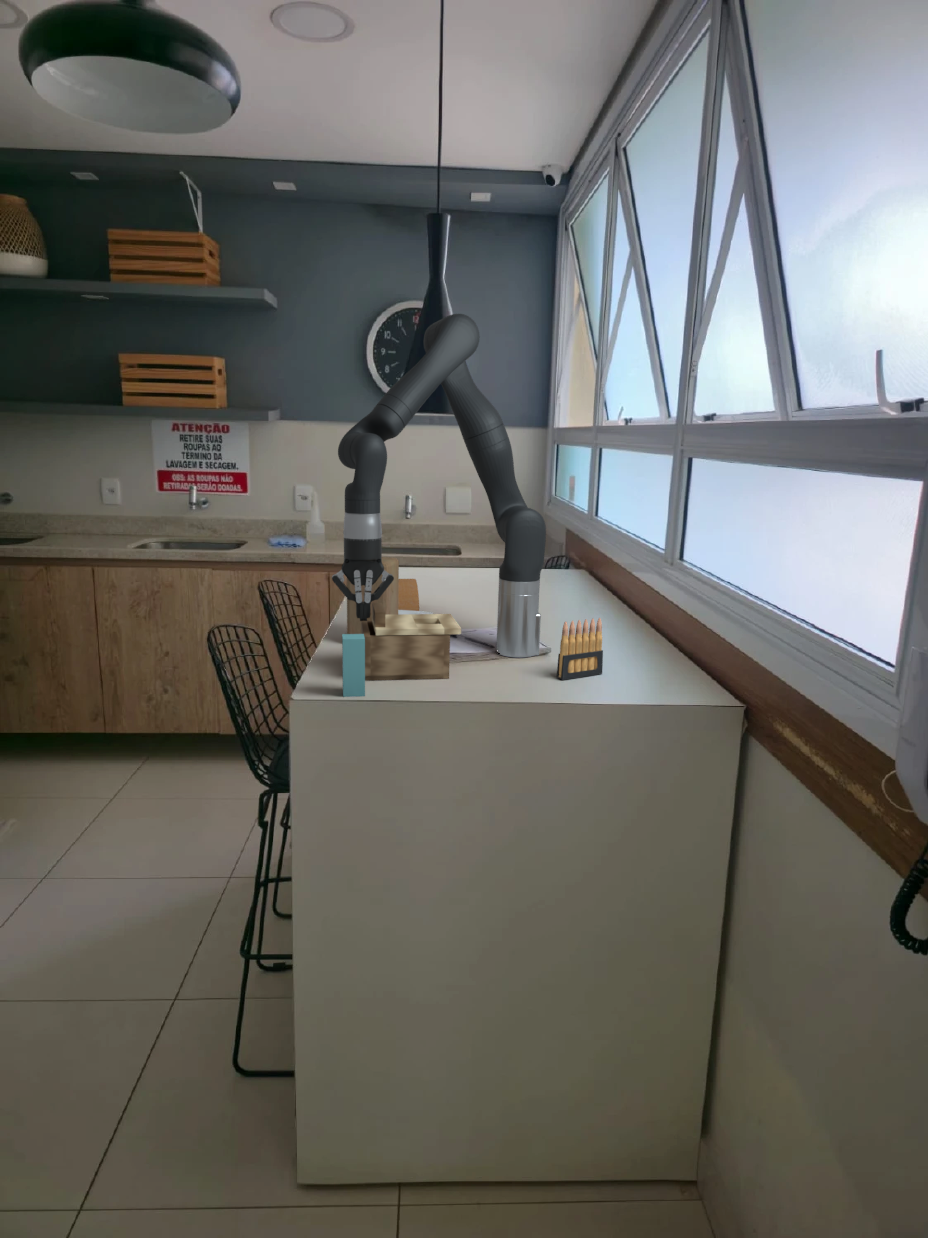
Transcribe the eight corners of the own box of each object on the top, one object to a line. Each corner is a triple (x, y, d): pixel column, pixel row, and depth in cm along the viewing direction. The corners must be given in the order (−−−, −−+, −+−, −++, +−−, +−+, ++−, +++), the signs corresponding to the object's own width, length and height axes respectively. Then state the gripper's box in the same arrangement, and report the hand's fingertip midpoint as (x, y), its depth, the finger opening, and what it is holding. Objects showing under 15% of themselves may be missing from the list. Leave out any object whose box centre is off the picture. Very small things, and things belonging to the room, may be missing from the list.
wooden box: (439, 660, 174) (440, 620, 173) (449, 678, 161) (450, 635, 159) (361, 662, 172) (361, 621, 170) (364, 680, 158) (364, 636, 156)
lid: (450, 619, 173) (450, 600, 172) (461, 634, 159) (461, 613, 159) (371, 620, 170) (371, 600, 169) (375, 635, 157) (375, 614, 156)
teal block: (363, 689, 152) (363, 633, 150) (365, 696, 149) (364, 638, 146) (342, 690, 152) (342, 634, 149) (343, 696, 148) (342, 639, 145)
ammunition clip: (561, 680, 162) (564, 622, 160) (556, 677, 164) (559, 620, 161) (602, 673, 168) (606, 618, 165) (596, 671, 169) (600, 616, 167)
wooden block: (387, 649, 183) (387, 563, 179) (345, 646, 185) (345, 560, 180) (399, 639, 192) (399, 557, 188) (359, 636, 194) (359, 555, 190)
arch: (397, 622, 211) (397, 585, 209) (391, 607, 230) (392, 573, 228) (419, 622, 212) (419, 585, 210) (411, 607, 231) (412, 573, 229)
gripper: (394, 533, 164) (394, 615, 167) (329, 533, 161) (330, 616, 165) (397, 537, 156) (397, 623, 160) (329, 537, 154) (330, 624, 158)
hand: (363, 620), depth 163 cm, fingers closed
